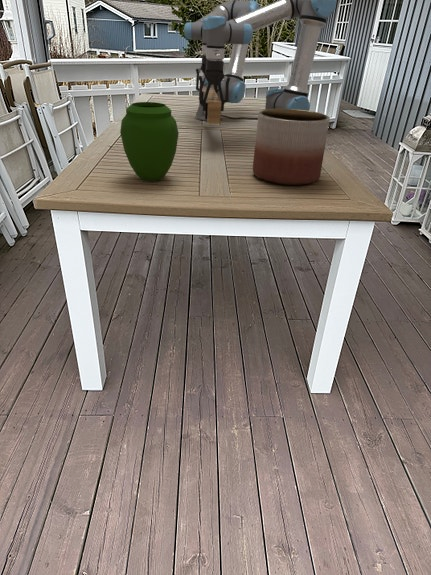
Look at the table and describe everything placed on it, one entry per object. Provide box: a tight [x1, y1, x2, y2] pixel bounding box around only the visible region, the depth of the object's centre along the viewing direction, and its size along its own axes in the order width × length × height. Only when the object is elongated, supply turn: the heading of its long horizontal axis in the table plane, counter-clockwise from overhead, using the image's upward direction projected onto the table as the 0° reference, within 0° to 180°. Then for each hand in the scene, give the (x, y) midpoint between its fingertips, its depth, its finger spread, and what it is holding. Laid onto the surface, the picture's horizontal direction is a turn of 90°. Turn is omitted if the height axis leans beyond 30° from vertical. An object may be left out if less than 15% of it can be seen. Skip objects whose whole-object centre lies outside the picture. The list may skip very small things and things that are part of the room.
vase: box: [119, 101, 179, 182], centre depth 140 cm, size 20×20×24 cm
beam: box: [202, 87, 222, 125], centre depth 197 cm, size 54×6×9 cm, turn 4°
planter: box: [252, 109, 331, 186], centre depth 150 cm, size 25×25×22 cm
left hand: (207, 105), depth 216 cm, fingers closed on beam, 5 cm apart
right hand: (212, 118), depth 183 cm, fingers closed on beam, 5 cm apart
